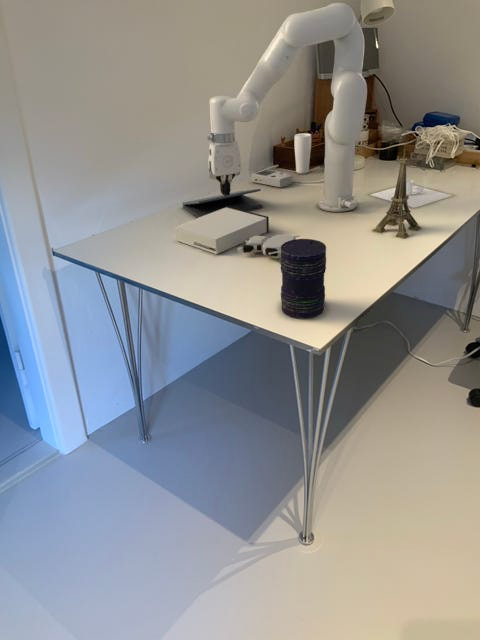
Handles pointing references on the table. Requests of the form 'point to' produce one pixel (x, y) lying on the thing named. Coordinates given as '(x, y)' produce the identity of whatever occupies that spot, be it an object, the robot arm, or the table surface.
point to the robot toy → (266, 245)
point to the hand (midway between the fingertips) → (225, 194)
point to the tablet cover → (220, 197)
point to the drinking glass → (302, 152)
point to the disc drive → (222, 229)
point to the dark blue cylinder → (303, 278)
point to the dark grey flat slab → (222, 205)
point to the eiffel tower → (399, 201)
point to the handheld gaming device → (272, 178)
